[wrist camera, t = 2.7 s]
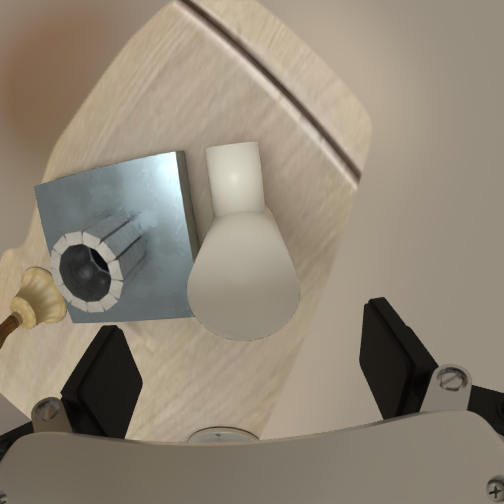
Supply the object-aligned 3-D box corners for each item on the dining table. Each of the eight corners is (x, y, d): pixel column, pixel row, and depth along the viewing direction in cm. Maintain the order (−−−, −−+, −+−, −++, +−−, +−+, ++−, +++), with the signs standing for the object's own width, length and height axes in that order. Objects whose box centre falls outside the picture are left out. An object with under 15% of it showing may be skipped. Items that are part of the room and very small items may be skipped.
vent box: (208, 297, 34) (196, 352, 25) (86, 307, 34) (49, 352, 25) (183, 151, 29) (155, 153, 19) (54, 181, 29) (-3, 197, 20)
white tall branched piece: (276, 246, 32) (302, 334, 17) (219, 253, 32) (199, 344, 17) (265, 142, 29) (287, 135, 14) (204, 149, 29) (161, 152, 14)
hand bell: (13, 278, 33) (-59, 336, 18) (46, 257, 32) (-36, 319, 17) (42, 328, 36) (-17, 397, 21) (77, 313, 35) (14, 392, 20)
